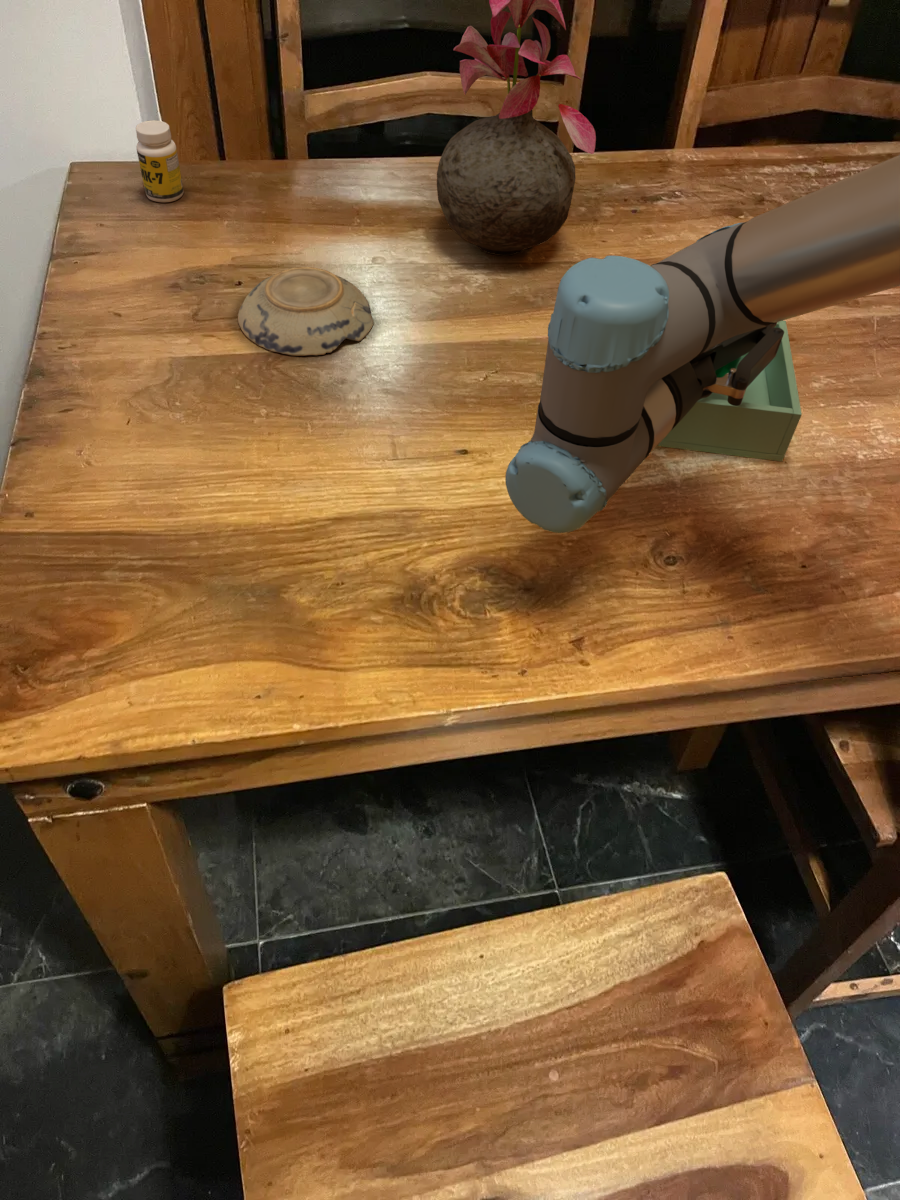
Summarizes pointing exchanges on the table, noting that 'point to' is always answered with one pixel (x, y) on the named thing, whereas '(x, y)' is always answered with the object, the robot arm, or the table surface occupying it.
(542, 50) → the vase
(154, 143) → the supplement bottle
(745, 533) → the table surface
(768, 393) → the green open-top storage box
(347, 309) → the decorative bowl
